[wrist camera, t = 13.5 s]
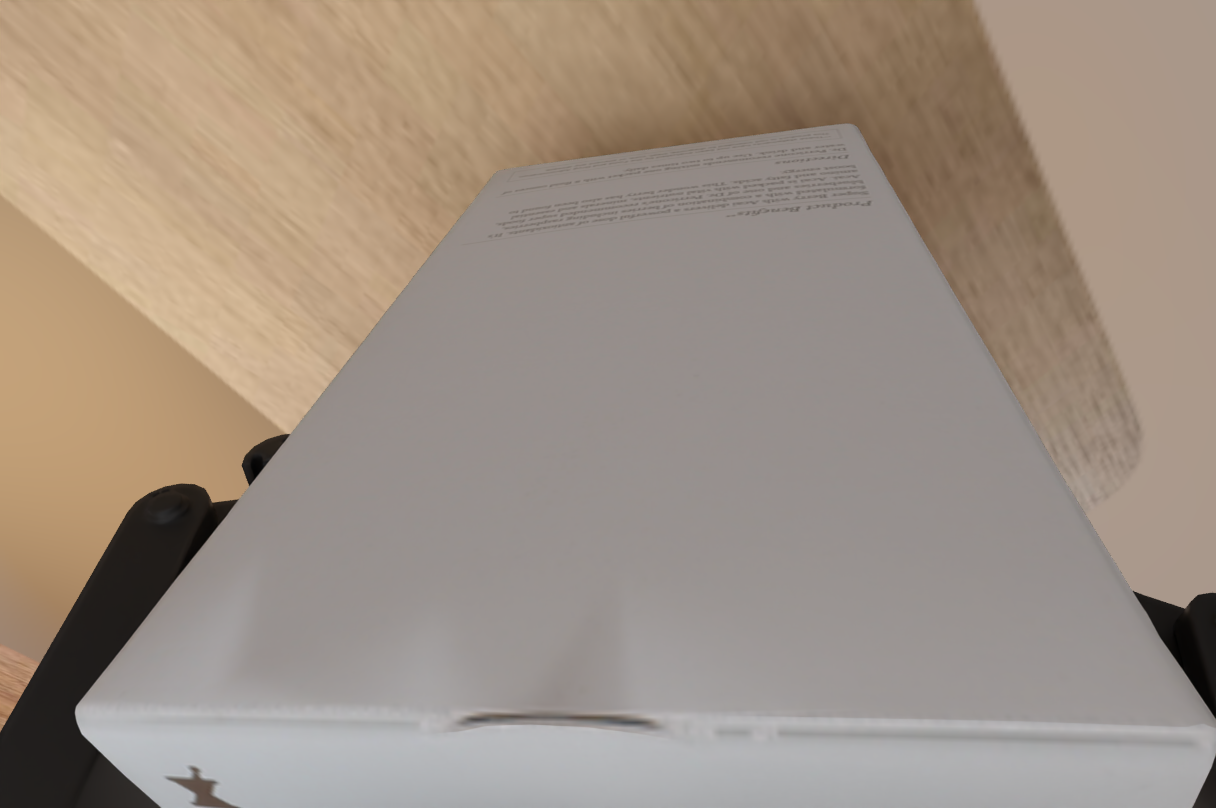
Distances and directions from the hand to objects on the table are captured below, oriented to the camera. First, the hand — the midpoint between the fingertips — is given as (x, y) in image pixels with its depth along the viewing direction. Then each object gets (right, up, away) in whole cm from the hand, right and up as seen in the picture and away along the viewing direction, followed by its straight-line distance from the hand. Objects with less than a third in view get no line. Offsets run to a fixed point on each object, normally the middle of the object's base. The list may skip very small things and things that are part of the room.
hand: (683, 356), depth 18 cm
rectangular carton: (0, +2, +2) cm, 3 cm away
